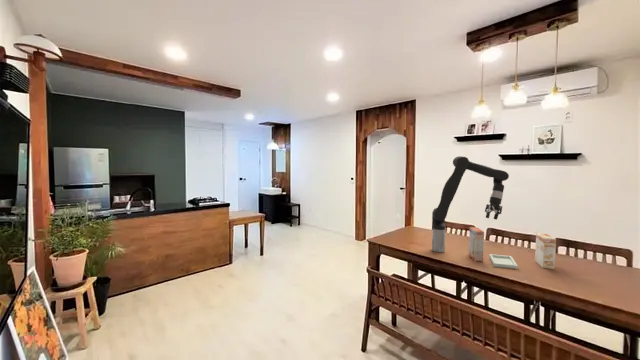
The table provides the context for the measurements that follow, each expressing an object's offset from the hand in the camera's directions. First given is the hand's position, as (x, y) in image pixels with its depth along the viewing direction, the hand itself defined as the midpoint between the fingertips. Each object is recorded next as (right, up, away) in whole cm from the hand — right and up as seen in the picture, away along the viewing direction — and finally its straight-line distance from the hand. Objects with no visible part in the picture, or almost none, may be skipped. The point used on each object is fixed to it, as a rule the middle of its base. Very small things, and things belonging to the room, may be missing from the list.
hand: (491, 218), depth 221 cm
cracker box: (-15, -27, -8) cm, 32 cm away
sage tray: (-2, -28, -18) cm, 33 cm away
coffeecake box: (+23, -28, -22) cm, 42 cm away
